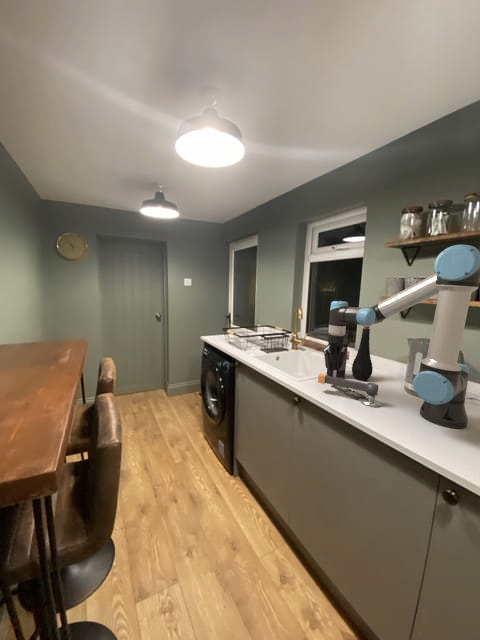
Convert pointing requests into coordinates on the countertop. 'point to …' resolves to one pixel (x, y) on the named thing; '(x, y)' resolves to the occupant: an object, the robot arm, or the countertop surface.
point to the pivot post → (370, 401)
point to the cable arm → (349, 384)
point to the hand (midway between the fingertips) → (332, 382)
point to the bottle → (363, 358)
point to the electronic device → (342, 370)
